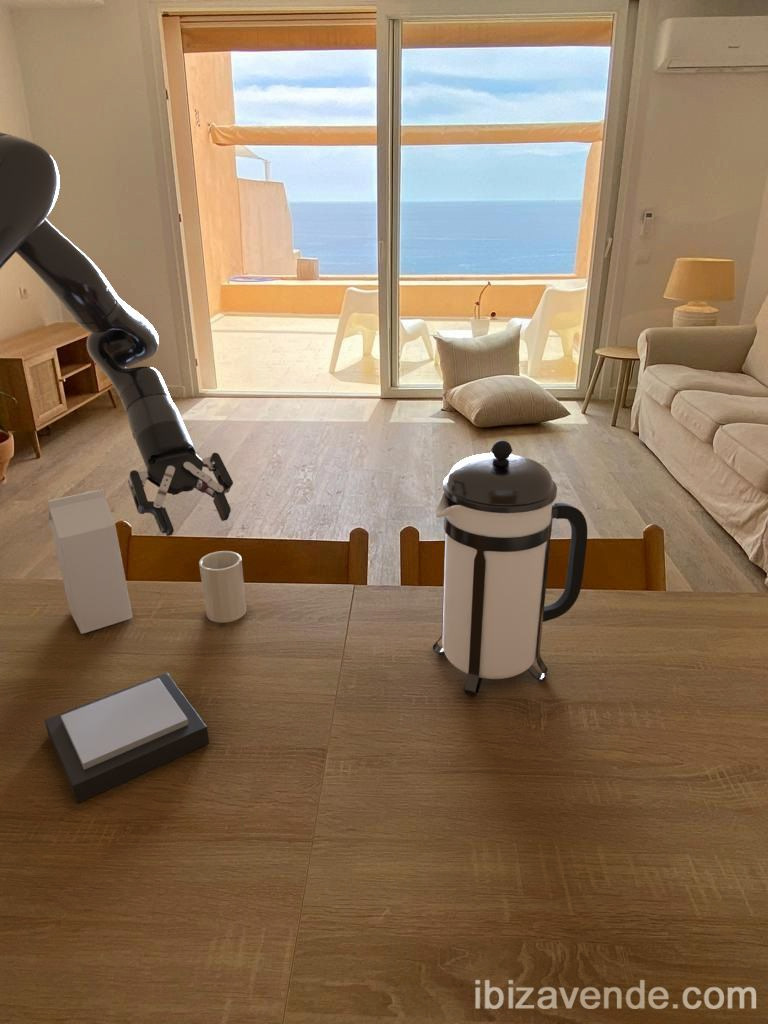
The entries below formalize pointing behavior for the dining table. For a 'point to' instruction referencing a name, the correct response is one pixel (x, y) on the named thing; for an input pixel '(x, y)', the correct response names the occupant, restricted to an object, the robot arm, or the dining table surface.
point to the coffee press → (501, 564)
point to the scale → (124, 735)
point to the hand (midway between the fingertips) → (199, 525)
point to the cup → (223, 586)
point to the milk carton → (90, 560)
